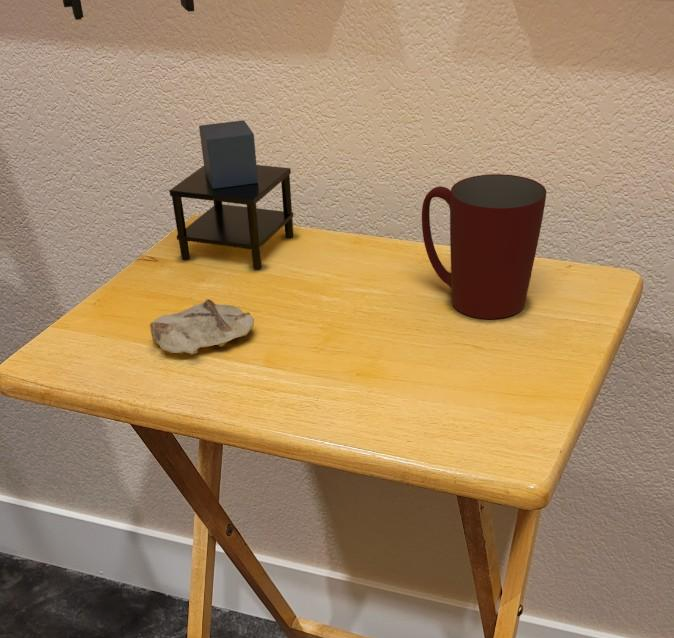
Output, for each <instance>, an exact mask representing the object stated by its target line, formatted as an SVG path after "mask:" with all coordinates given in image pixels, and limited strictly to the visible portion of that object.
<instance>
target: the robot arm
mask: <svg viewBox="0 0 674 638" xmlns="http://www.w3.org/2000/svg"><path fill="white" fill-rule="evenodd" d="M62 4H63V8H71V10H72V15H73V18H74V20H75V21H80V20H82V19H83V18H85V17H84V12H83V6H82V1H81V0H62ZM180 5H181V6H182V8H183V9H184V10H185V11H187V12H195V1H194V0H180Z"/></svg>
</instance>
